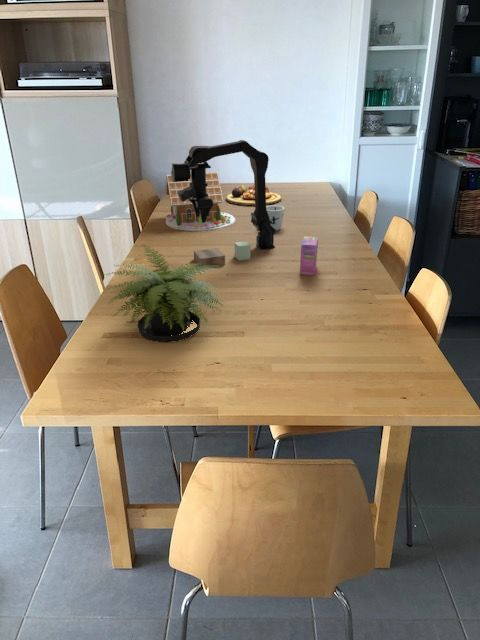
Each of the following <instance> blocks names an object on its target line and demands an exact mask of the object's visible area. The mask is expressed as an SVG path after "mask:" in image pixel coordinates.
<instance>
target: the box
mask: <svg viewBox="0 0 480 640" xmlns="http://www.w3.org/2000/svg"><path fill="white" fill-rule="evenodd" d="M318 244H319V236H308V235H304V236H303V238H302V241H301V244H300V245H301V246H300V257H299V258H300V260H299V261H300V262H299V275H304V276H315V273H316V269H317V262H318V261H317V260H318V249H319V248H318V247H319V245H318Z"/></svg>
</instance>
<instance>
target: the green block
mask: <svg viewBox="0 0 480 640" xmlns="http://www.w3.org/2000/svg"><path fill="white" fill-rule="evenodd" d="M234 257H235V258H236V260H237V261H247V260H250V259H251V245H250V243H249V242H247V241H238V242H237V241H236V242H234Z"/></svg>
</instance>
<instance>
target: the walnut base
mask: <svg viewBox="0 0 480 640" xmlns="http://www.w3.org/2000/svg"><path fill="white" fill-rule="evenodd" d="M193 260H194V261H195V264H197V266H200V265H201V266H202V267H203V265H207V266H209V265H210V266H211V267H213V266H214V267H215V266H216V267H218V265H219V266H223V265H226V256H225V254H224V253H223V252H222V251H221V250H220V249H219V248H218V247H217V248H216V247H214V248H207V249H199V250H198V249H197V250H193ZM201 266H200V267H201ZM207 266H206V268H207ZM210 266H209V267H210ZM209 267H208V268H209ZM211 267H210V268H211Z"/></svg>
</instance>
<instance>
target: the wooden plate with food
mask: <svg viewBox="0 0 480 640" xmlns="http://www.w3.org/2000/svg"><path fill="white" fill-rule="evenodd" d="M225 199H226V202H228V203H230V202H231V203H230V204H233V203H234V204H233V205H237V204H239V205H240V206H247V205H252V206H251V207H255V186H254V185H253V184H251V185H249V186H248V188H247V186H245V185H243V184H241V185H240V186H235V187H234V188H233V190H232V191H231V193H230V194H227V196H226V197H225ZM280 200H281V201H282V196H281V195H280V194H279V193H276V192H271V191H270V189H269V188H268V185H267V186H266V206H269V205H268V204H271V205H274V204H273V203H275V204H278V203H280V202H281V201H280ZM279 201H280V202H279ZM277 202H278V203H277Z"/></svg>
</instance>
